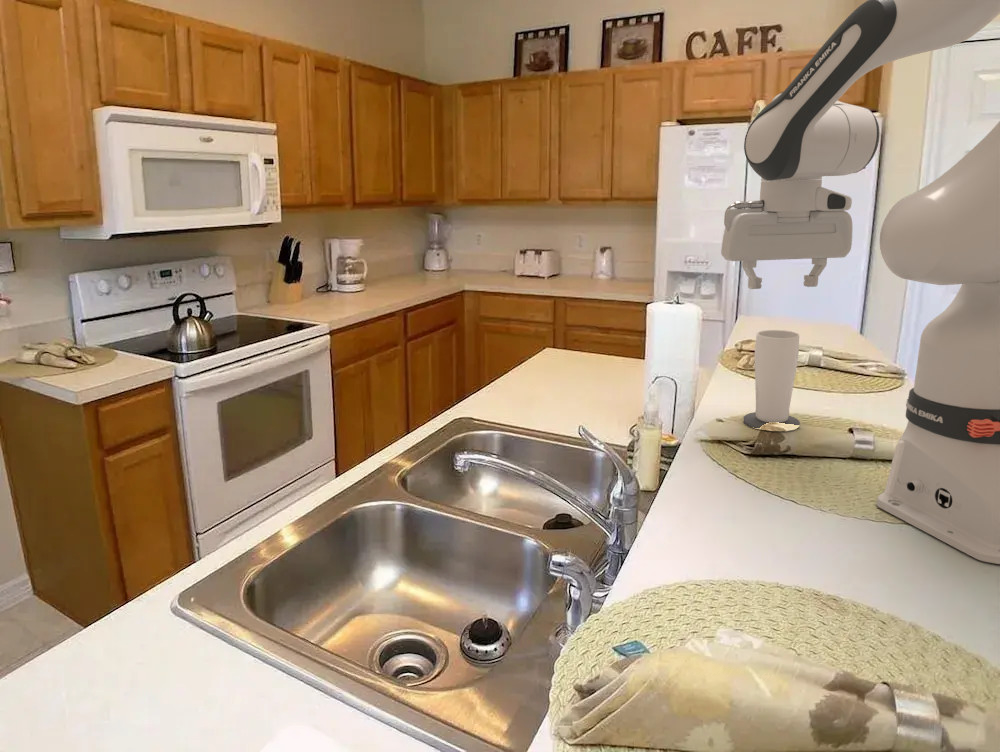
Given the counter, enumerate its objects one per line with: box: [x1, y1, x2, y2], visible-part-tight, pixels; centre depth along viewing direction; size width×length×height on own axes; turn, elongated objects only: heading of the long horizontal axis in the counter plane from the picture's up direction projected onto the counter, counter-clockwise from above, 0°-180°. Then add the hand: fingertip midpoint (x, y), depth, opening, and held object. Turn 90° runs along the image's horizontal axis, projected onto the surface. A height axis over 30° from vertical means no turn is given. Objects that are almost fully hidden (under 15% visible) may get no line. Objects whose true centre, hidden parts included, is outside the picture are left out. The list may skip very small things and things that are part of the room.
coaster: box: [743, 411, 801, 429], centre depth 118 cm, size 9×9×1 cm
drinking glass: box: [754, 329, 800, 423], centre depth 116 cm, size 7×7×15 cm
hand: (782, 287), depth 111 cm, fingers open, 8 cm apart
